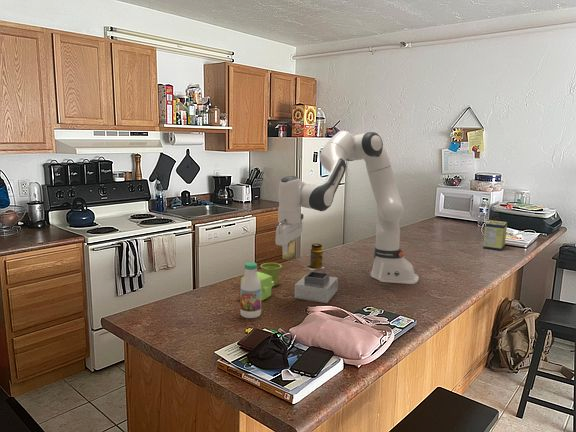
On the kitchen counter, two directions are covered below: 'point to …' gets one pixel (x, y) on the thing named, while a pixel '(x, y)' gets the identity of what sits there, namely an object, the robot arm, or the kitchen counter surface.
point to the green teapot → (264, 285)
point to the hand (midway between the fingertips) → (288, 251)
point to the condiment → (316, 257)
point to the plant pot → (272, 271)
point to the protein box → (495, 235)
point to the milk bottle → (250, 292)
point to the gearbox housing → (316, 287)
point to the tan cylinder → (290, 251)
